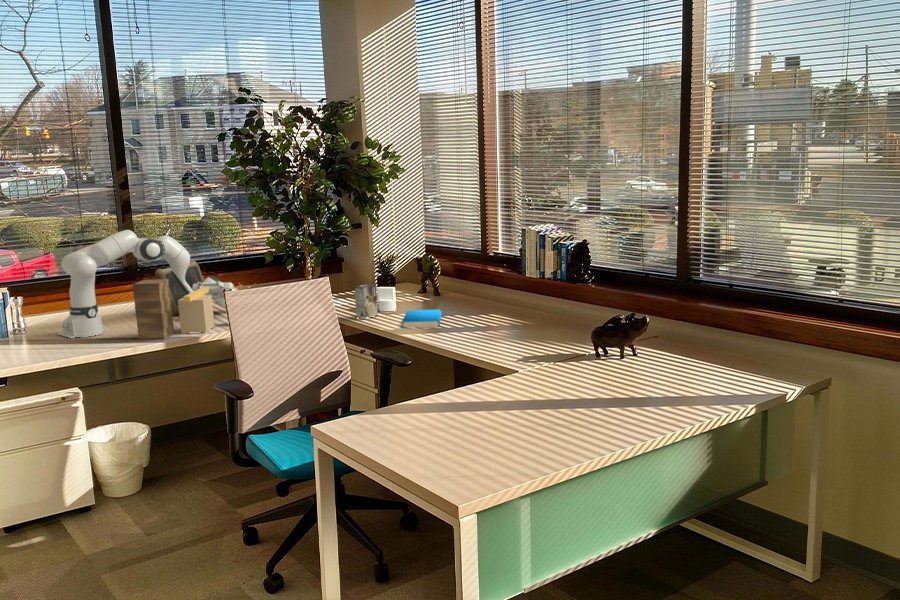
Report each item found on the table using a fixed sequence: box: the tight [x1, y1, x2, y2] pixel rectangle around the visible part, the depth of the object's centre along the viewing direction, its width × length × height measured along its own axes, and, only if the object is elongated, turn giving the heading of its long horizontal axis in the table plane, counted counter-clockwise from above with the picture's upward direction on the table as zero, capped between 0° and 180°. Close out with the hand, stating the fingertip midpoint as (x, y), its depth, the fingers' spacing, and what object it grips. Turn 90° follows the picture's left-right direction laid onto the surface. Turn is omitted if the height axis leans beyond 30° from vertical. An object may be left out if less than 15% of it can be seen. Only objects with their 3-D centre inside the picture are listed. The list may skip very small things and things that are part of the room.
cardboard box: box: [178, 295, 215, 333], centre depth 401 cm, size 12×12×16 cm
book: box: [402, 309, 442, 329], centre depth 399 cm, size 17×4×25 cm
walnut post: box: [132, 279, 175, 341], centre depth 390 cm, size 12×12×26 cm
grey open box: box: [154, 260, 205, 317], centre depth 454 cm, size 33×14×25 cm, turn 165°
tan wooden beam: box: [183, 287, 209, 302], centre depth 402 cm, size 26×3×2 cm, turn 177°
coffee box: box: [353, 283, 379, 318], centre depth 414 cm, size 9×6×16 cm
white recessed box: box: [377, 286, 397, 312], centre depth 430 cm, size 9×9×12 cm
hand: (208, 282), depth 418 cm, fingers open, 8 cm apart
